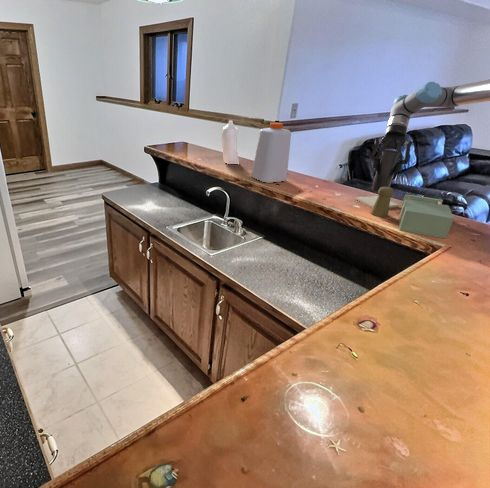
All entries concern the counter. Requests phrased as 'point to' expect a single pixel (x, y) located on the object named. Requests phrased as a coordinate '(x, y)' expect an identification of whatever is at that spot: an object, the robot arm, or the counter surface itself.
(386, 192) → the olive pawn shaped piece
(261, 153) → the plastic bottle
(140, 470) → the counter surface
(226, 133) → the pale pink bottle
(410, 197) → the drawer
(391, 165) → the dark brown rectangular block
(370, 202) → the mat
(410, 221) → the green beveled box
